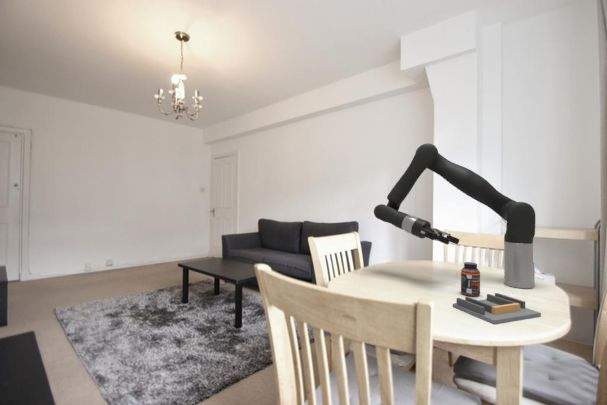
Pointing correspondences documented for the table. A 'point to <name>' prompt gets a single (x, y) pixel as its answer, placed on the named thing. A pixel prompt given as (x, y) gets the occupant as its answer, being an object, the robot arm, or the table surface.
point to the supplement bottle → (470, 279)
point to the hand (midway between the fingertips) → (453, 241)
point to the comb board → (496, 308)
